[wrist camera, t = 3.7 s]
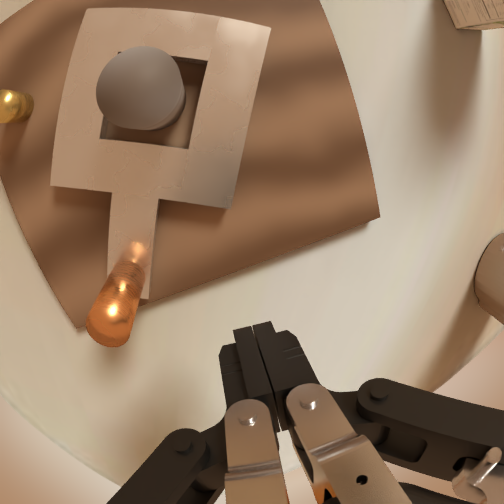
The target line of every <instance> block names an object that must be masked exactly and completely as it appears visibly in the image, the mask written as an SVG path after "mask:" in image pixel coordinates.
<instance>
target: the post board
mask: <svg viewBox="0 0 504 504" xmlns="http://www.w3.org/2000/svg"><path fill="white" fill-rule="evenodd" d="M88 8H150V9H165V10H176V11H185V12H193V13H201V14H207V15H214V16H220V17H225V18H231V19H236V20H240V21H245V22H250V23H254V24H258V25H262V26H266V27H270V28H271V31H270V35H269V39H268V43H267V47H266V51H265V56H264V60H263V64H262V68H261V72H260V77H259V81H258V85H257V90H256V94H255V98H254V103H253V107H252V112H251V116H250V121H249V125H248V130H247V134H246V139H245V144H244V148H243V153H242V158H241V162H240V167H239V172H238V177H237V182H236V186H235V191H234V196H233V201H232V206H231V209H225V208H219V207H213V206H206V205H200V204H193V203H186V202H179V201H172V200H165V199H160V204H159V211H158V219H157V227H156V236H155V245H154V255H153V266H152V277H151V291H150V295H149V299H142V298H140V300H139V304H138V307H139V306H142V305H145V304H147V303H150V302H153V301H156V300H159V299H161V298H164V297H167V296H170V295H172V294H175V293H178V292H181V291H184V290H186V289H189V288H192V287H195V286H197V285H200V284H203V283H206V282H208V281H211V280H214V279H217V278H219V277H222V276H225V275H228V274H230V273H233V272H236V271H238V270H241V269H244V268H247V267H249V266H252V265H255V264H257V263H260V262H263V261H266V260H268V259H271V258H274V257H276V256H279V255H282V254H284V253H287V252H290V251H292V250H295V249H298V248H300V247H303V246H306V245H308V244H311V243H314V242H316V241H319V240H322V239H324V238H327V237H330V236H332V235H335V234H338V233H340V232H343V231H345V230H348V229H351V228H353V227H356V226H359V225H361V224H364V223H366V222H369V221H372V220H374V219H377V218H379V217H380V212H379V206H378V200H377V195H376V189H375V184H374V179H373V174H372V169H371V164H370V159H369V155H368V150H367V146H366V142H365V137H364V133H363V129H362V125H361V122H360V118H359V114H358V110H357V107H356V103H355V100H354V96H353V93H352V89H351V86H350V83H349V79H348V76H347V73H346V70H345V67H344V64H343V61H342V58H341V55H340V52H339V49H338V47H337V44H336V41H335V38H334V36H333V33H332V30H331V28H330V25H329V23H328V20H327V17H326V15H325V13H324V10H323V8H322V5H321V3H320V1H319V0H34V1H32V2H30V3H29V4H27V5H26V6H25V7H23V8H22V9H20V10H19V11H17V12H16V13H15V14H13V15H12V16H10V17H9V18H8V19H6V20H5V21H4V22H2V23H1V24H0V90H3V89H5V90H12V91H18V92H24V93H28V94H30V95H31V96H32V97H33V100H34V108H33V112H32V114H31V116H30V117H29V118H28V119H27V120H26V121H24V122H22V123H0V176H1V179H2V182H3V184H4V187H5V190H6V192H7V195H8V198H9V200H10V203H11V205H12V208H13V210H14V213H15V215H16V217H17V220H18V222H19V224H20V227H21V229H22V231H23V233H24V235H25V238H26V240H27V242H28V244H29V246H30V248H31V250H32V252H33V254H34V256H35V258H36V260H37V262H38V264H39V266H40V268H41V270H42V272H43V274H44V275H45V277H46V279H47V281H48V283H49V284H50V286H51V288H52V290H53V291H54V293H55V295H56V297H57V298H58V300H59V302H60V303H61V305H62V307H63V308H64V310H65V311H66V313H67V315H68V316H69V318H70V319H71V321H72V322H73V324H74V326H75V327H76V328H79V327H82V326H85V325H86V318H87V316H88V314H89V312H90V310H91V308H92V306H93V304H94V302H95V300H96V298H97V297H98V295H99V293H100V291H101V289H102V287H103V285H104V283H105V282H106V280H107V262H108V238H109V222H110V209H111V198H112V192H104V191H95V190H87V189H78V188H69V187H59V186H50V181H51V168H52V158H53V149H54V141H55V133H56V126H57V120H58V114H59V109H60V103H61V98H62V93H63V89H64V84H65V80H66V75H67V71H68V67H69V63H70V60H71V56H72V52H73V49H74V46H75V42H76V39H77V36H78V33H79V30H80V27H81V24H82V21H83V18H84V15H85V12H86V10H87V9H88ZM206 67H207V65H203V64H197V63H190V62H182V61H174V59H173V58H172V57H171V56H170V55H169V54H167V53H166V52H164V51H163V50H160V49H158V48H155V47H150V46H139V47H133V48H130V49H127V50H125V51H123V52H121V53H119V54H118V55H116V56H115V57H114V58H112V59H111V60H110V61H109V62H108V63H107V64H106V66H105V67H104V68H103V70H102V72H101V74H100V76H99V78H98V82H97V86H96V100H97V104H98V106H99V109H100V111H101V112H102V114H103V115H104V116H105V118H107V119H108V123H107V129H106V135H105V139H115V140H125V141H134V142H143V143H151V144H159V145H167V146H174V147H181V148H187V149H189V144H190V139H191V134H192V129H193V124H194V119H195V115H196V110H197V105H198V101H199V96H200V92H201V88H202V84H203V79H204V75H205V71H206Z"/></svg>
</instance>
